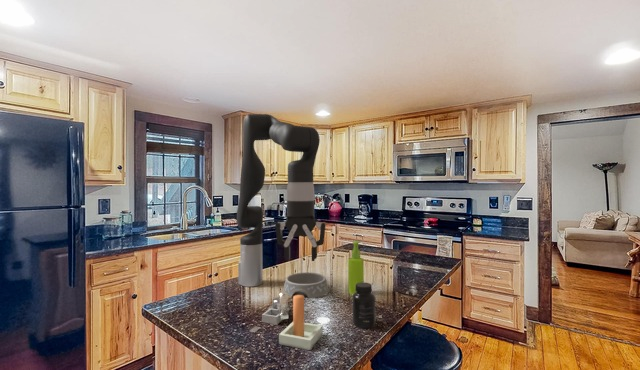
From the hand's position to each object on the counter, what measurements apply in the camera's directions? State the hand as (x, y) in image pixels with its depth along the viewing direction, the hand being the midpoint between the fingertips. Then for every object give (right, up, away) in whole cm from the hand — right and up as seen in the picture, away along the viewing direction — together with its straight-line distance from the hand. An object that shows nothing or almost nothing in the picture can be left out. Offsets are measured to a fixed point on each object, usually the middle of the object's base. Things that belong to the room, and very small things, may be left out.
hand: (300, 260), depth 85 cm
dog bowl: (-1, -22, +40) cm, 46 cm away
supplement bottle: (+18, -22, +9) cm, 30 cm away
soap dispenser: (+20, -22, +38) cm, 48 cm away
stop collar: (-9, -22, +12) cm, 27 cm away
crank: (-7, -20, +14) cm, 26 cm away
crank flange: (-11, -22, +13) cm, 28 cm away
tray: (0, -22, 0) cm, 22 cm away
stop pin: (-1, -21, 0) cm, 21 cm away
